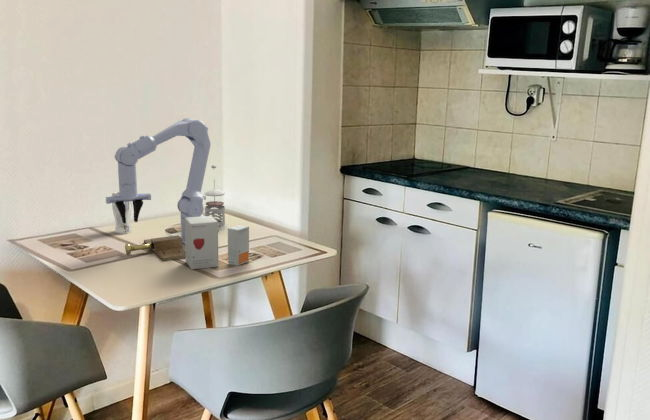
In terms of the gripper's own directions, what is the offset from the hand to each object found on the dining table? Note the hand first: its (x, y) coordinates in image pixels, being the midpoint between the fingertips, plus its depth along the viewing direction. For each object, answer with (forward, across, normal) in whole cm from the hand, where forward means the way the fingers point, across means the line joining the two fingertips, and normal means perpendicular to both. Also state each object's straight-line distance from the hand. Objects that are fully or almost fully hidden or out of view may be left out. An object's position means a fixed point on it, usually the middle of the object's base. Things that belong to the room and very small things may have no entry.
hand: (130, 222), depth 202 cm
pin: (+10, +2, -5) cm, 11 cm away
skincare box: (+10, +27, -30) cm, 42 cm away
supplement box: (+10, +16, -26) cm, 32 cm away
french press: (+10, +36, +17) cm, 41 cm away
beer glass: (+10, +3, +25) cm, 27 cm away
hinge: (+10, +10, -5) cm, 15 cm away
